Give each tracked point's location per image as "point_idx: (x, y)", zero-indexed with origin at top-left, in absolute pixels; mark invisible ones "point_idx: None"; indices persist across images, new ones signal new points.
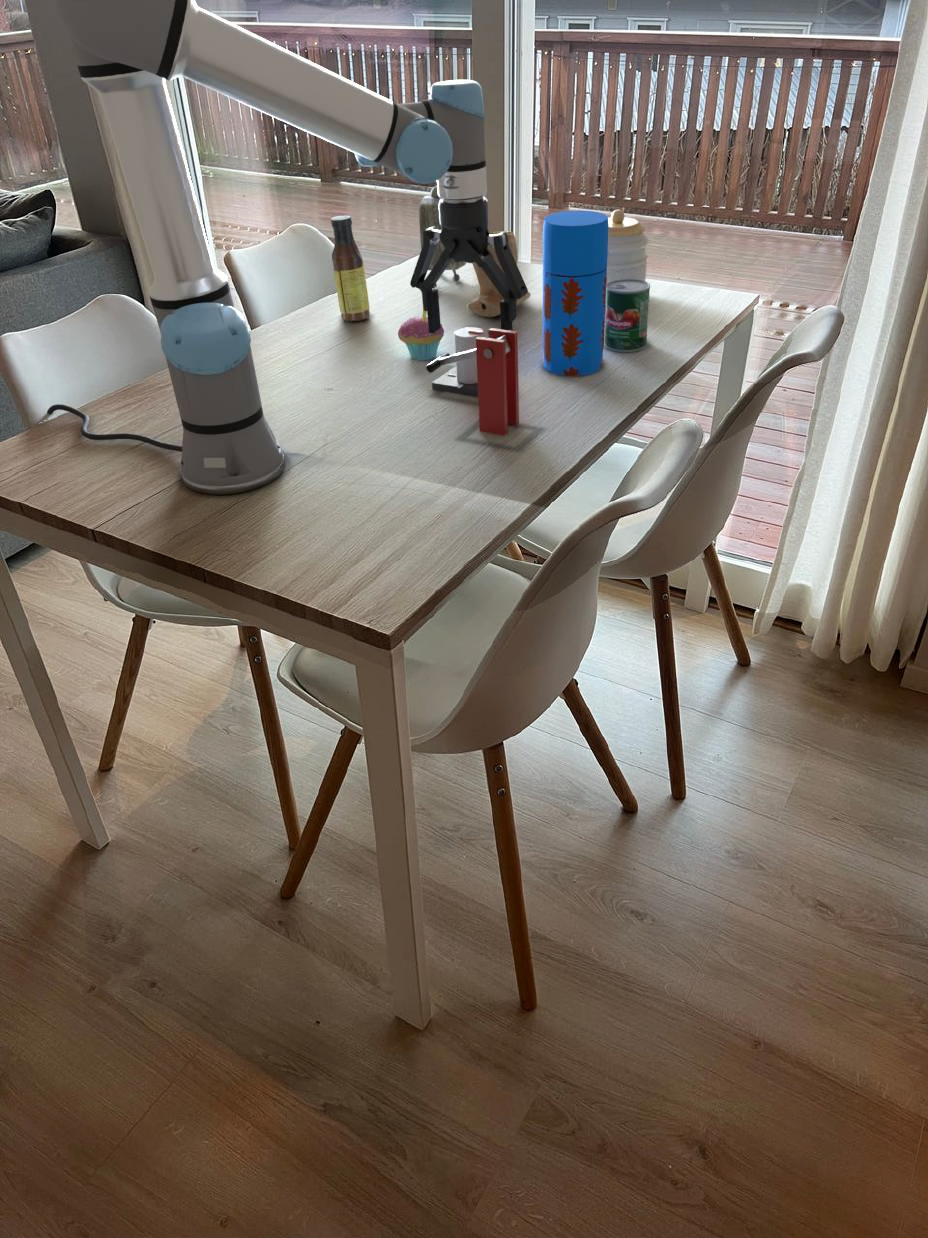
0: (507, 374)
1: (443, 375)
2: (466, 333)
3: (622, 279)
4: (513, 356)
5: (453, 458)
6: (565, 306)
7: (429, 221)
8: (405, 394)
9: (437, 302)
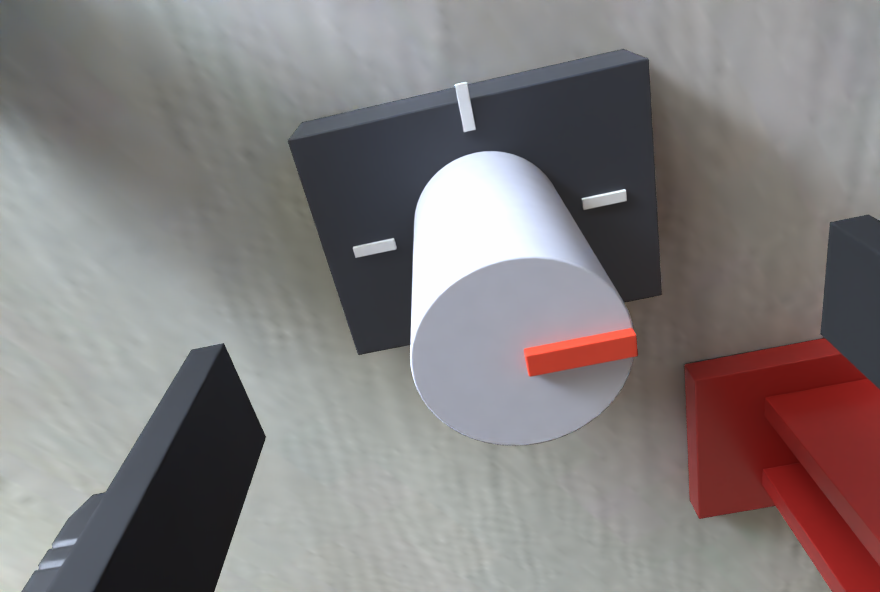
0: None
1: (338, 267)
2: (525, 388)
3: None
4: None
5: (737, 575)
6: None
7: None
8: (254, 363)
9: (157, 520)
